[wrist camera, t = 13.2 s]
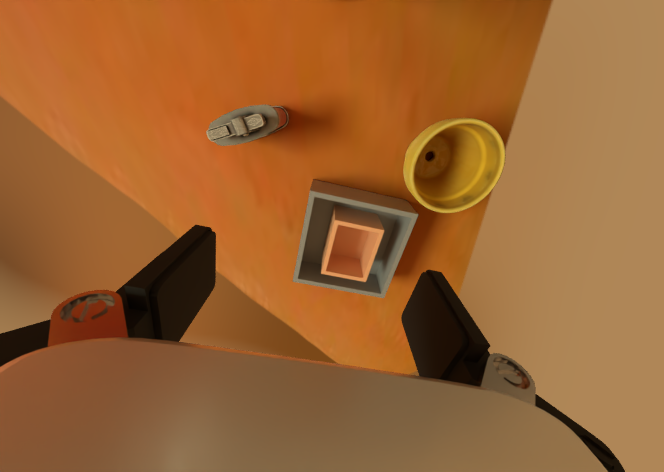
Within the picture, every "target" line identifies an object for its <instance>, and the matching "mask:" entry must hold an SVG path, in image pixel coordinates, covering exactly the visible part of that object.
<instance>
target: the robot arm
mask: <svg viewBox="0 0 664 472" xmlns="http://www.w3.org/2000/svg"><path fill="white" fill-rule="evenodd" d="M215 268H216V234H215V232H213V231H212V229H211V228H210V227H205V226H200V225H195V226H193V227H192V228H191V229H190V230H189V231H188V232H186V233H185V234H184V235H183V236H182V237H181V238H179V239H178V240H177V241H176V242H175V243H174V244H172V245H171V246H170V247H169V248H168V249H166V250H165V251H164V252H162V253H161V254H160V255H159V256H157V257H156V258H155V259H154V260H153V261H152V262H150V263H149V264H148V265H147V266H146V267H144V268H143V269H142V270H141V271H140V272H139V273H137V274H136V275H135V276H134V277H133V278H131V279H130V280H129V281H128V282H127V283H126V284H124V285H123V286H122V287H121V288H120V289H118V290H117V291H116V292H114V291H109V290H94V291H88V292H84V293H81V294H77V295H75V296H73V297H71V298H68V299H67V300H65V301H64V302H62V303H61V304H59V305H58V306H57V307H56V308H55V309H54V311H53V313H52V315H51V319H50V320H47V321H43V322H40V323H36V324H33V325H29V326H26V327H22V328H19V329H16V330H12V331H9V332H5V333H1V334H0V472H625V470H624V469H623V467H622V465H621V464H620V462H619V460H618V459H617V458H616V457H615V455H614V454H613V453H612V451H611V450H610V449H609V448H608V447H607V446H606V445H605V444H604V443H603V442H602V441H600V440H599V439H598V438H596V437H595V436H594V435H592V434H591V433H590V432H588V431H587V430H585V429H584V428H583V427H581V426H580V425H578V424H577V423H576V422H574V421H573V420H571V419H570V418H569V417H567V416H566V415H564V414H563V413H562V412H560V411H559V410H557V409H556V408H555V407H553V406H552V405H550V404H549V403H548V402H546V401H545V400H543V399H542V398H541V397H539V396H538V395H536V394H535V391H536V388H535V383H534V381H533V379H532V377H531V376H530V375H529V373H528V372H527V371H526V370H525V369H524V368H523V367H522V366H521V365H520V364H518V363H517V362H516V361H514V360H513V359H511V358H509V357H507V356H505V355H502V354H499V353H493V354H489V352H488V348H489V347H490V344H489V343H488V341H487V340H486V339H485V337H484V336H483V334H482V333H481V331H480V329H479V328H478V326H477V325H476V323H475V322H474V320H473V319H472V317H471V316H470V314H469V313H468V311H467V310H466V309H465V307H464V305H463V304H462V302H461V301H460V299H459V298H458V296H457V295H456V293H455V292H454V290H453V289H452V287H451V286H450V284H449V283H448V281H447V280H446V278H445V277H444V275H443V274H442V273H441V272H438V271H432V270H427V271H426V272H423V273H422V274H421V276H420V278H419V280H418V282H417V284H416V286H415V289H414V291H413V293H412V295H411V297H410V299H409V301H408V303H407V305H406V307H405V309H404V311H403V314H402V324H403V327H404V330H405V333H406V336H407V339H408V342H409V345H410V348H411V351H412V354H413V357H414V360H415V364H416V367H417V370H418V373H419V376H414V375H408V374H401V373H394V372H388V371H381V370H375V369H368V368H362V367H355V366H348V365H341V364H334V363H328V362H321V361H313V360H307V359H300V358H293V357H286V356H279V355H271V354H265V353H258V352H250V351H244V350H237V349H230V348H222V347H215V346H208V345H199V344H192V343H183V342H179V341H180V339H181V337H182V336H183V335H184V333H185V331H186V330H187V328H188V327H189V325H190V324H191V322H192V321H193V319H194V318H195V316H196V315H197V313H198V312H199V310H200V309H201V307H202V306H203V304H204V303H205V301H206V300H207V298H208V297H209V295H210V293H211V292H212V290H213V288H214V286H215Z"/></svg>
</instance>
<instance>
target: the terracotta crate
mask: <svg viewBox="0 0 664 472" xmlns="http://www.w3.org/2000/svg"><path fill="white" fill-rule="evenodd" d="M383 233H384V228H383V226H382V224H381V221H380V219H379V217H378V215H377V214H375V213H370V212H366V211H361V210H356V209H352V208H347V207H343V206H338V205H334V208H333V212H332V216H331V220H330V224H329V228H328V233H327V237H326V241H325V245H324V249H323V253H322V267H321V274H325V275H331V276H336V277H341V278H347V279H352V280H357V281H363V282H366V280H367V277H368V275H369V272H370V269H371V266H372V264H373V261H374V258H375V255H376V253H377V250H378V247H379V244H380V242H381V239H382V236H383Z"/></svg>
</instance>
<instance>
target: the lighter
mask: <svg viewBox="0 0 664 472" xmlns="http://www.w3.org/2000/svg"><path fill="white" fill-rule="evenodd" d="M288 122H289V115H288V112H287V111H286V109H285V108H283V107H281V106H271V105H256V106H248V107H244V108H240V109H236V110H234V111H232V112H229V113H227V114H224V115H223V116H221V117H219V118H218V119H216V120H214V121H213V122H212V123H211V124H210V126H209V130H207V136H208V138H209V140H211V141H214V142H215V143H216V144H218V145H221V146H227V145H237V144H241V143H246V142H250V141H253V140H255V139H258V138H260V137H264V136H267V135H269V134H272V133H274V132H276V131H278V130H280V129H282V128H283V127H285V126H286V125H287V124H288Z"/></svg>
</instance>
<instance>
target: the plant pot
mask: <svg viewBox="0 0 664 472" xmlns="http://www.w3.org/2000/svg"><path fill="white" fill-rule="evenodd" d="M429 151H431V152H433V158H432V159H431V160H426V159H425V155H426V154H427V153H428V152H429ZM504 164H505V147H504V143H503V140H502V138H501V136H500V135H499V133H498V132H497V130H496V129H495V128H494V127H492V126H491V125H490V124H488V123H486V122H484V121H482V120H479V119H473V118H454V119H447V120H443V121H440V122H437V123H435V124H433V125H431V126H430V127H428V128H427V129H425V130H424V131H423V132H422V133H421V134H420V135H419V136H418V137H417V138H415V139H414V140H413V141H412V143H411V144H410V145H409V147H408V149H407V151H406V155H405V161H404V169H403V172H404V180H405V183H406V186H407V188H408V189H409V191H410V192H411V194H412V195H413V196H414V198H415V199H416V200H417V201H418V202H419V203H420V204H422V205H423V206H424V207H426V208H428V209H430V210H432V211H435V212H440V213H454V212H459V211H462V210H465V209H468V208H470V207H472V206H474V205H475V204H477V203H478V202H480V201H481V200H482V199H484V198H485V197H486V196H487V195H488V194H489V193H490V192H491V191H492V189H493V188H494V187H495V185H496V184H497V182H498V180H499V178H500V176H501V174H502V171H503V168H504Z"/></svg>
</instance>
